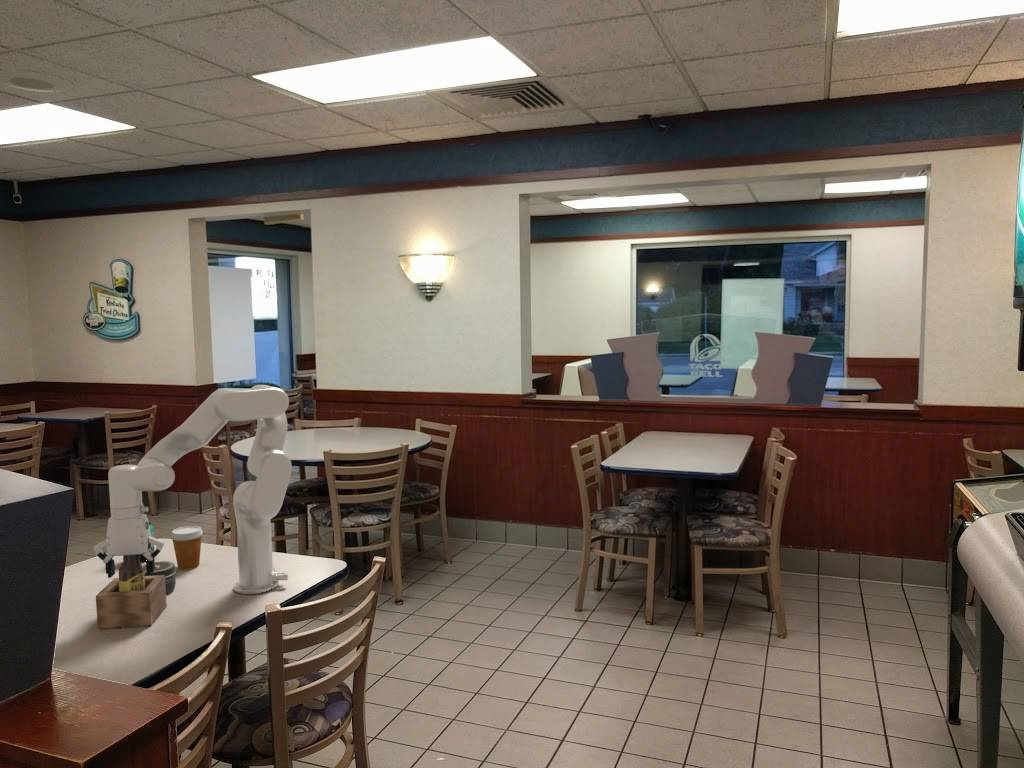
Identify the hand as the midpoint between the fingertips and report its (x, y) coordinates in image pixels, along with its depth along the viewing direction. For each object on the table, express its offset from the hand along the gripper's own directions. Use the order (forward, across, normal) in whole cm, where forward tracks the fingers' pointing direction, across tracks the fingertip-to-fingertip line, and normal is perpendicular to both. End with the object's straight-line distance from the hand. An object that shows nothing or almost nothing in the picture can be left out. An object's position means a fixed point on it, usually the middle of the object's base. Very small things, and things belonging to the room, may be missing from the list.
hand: (130, 574), depth 197 cm
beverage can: (+12, +14, -50) cm, 53 cm away
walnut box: (+12, 0, 0) cm, 12 cm away
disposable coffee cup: (+12, -4, -40) cm, 41 cm away
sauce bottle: (+12, 0, 0) cm, 12 cm away
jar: (+12, 0, -18) cm, 22 cm away
